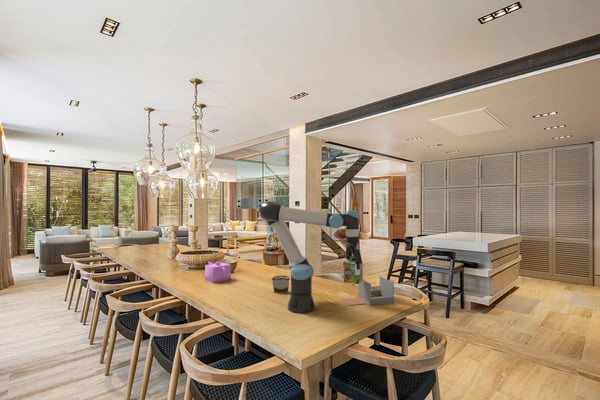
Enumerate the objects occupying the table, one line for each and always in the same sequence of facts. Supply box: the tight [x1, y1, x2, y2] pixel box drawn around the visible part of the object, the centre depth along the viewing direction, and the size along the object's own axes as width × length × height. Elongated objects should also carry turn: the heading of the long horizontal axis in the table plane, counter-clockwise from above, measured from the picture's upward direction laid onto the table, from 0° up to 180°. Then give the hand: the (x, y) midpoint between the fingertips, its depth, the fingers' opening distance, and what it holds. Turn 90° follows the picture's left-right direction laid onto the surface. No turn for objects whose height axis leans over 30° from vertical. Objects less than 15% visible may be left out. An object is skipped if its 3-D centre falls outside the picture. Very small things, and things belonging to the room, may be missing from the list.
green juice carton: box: [343, 255, 364, 285], centre depth 177 cm, size 9×9×15 cm
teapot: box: [204, 261, 232, 284], centre depth 235 cm, size 15×25×14 cm, turn 44°
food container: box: [271, 275, 291, 294], centre depth 201 cm, size 12×6×10 cm, turn 84°
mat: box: [341, 297, 367, 307], centre depth 177 cm, size 11×11×1 cm
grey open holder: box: [358, 275, 395, 306], centre depth 181 cm, size 15×16×12 cm
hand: (353, 272), depth 177 cm, fingers closed on green juice carton, 12 cm apart
